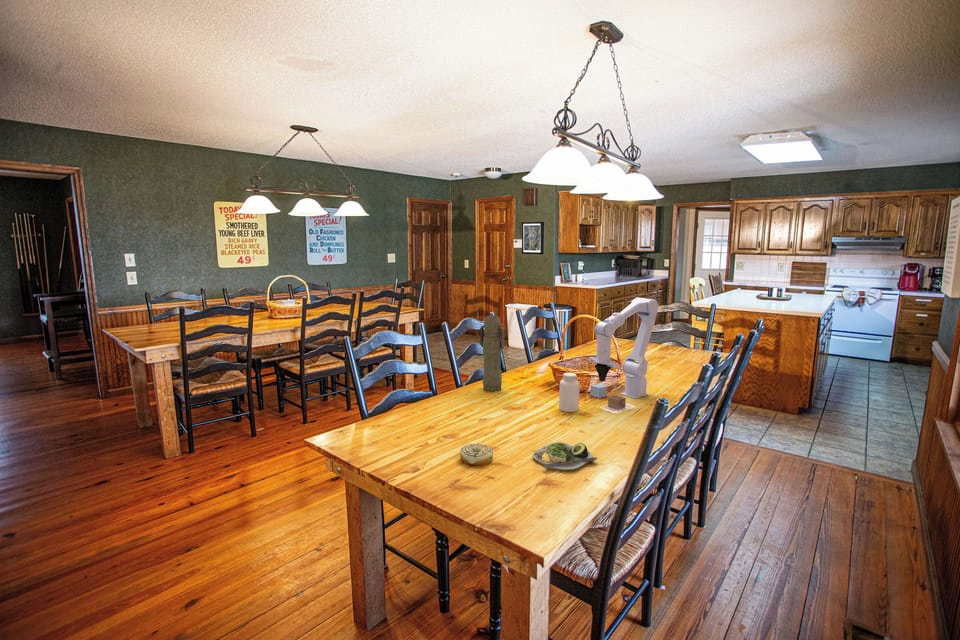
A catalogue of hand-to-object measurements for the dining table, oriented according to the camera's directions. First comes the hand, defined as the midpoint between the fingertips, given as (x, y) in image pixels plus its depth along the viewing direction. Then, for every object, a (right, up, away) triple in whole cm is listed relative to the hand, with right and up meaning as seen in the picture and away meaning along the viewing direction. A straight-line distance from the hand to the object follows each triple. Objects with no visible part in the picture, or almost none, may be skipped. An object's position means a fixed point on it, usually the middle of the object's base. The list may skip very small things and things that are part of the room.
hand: (602, 381), depth 201 cm
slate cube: (+1, -8, +9) cm, 12 cm away
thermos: (-47, -7, +20) cm, 51 cm away
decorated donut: (-54, -19, -52) cm, 77 cm away
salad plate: (-26, -19, -51) cm, 60 cm away
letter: (+5, -10, -5) cm, 12 cm away
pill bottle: (-16, -11, -7) cm, 20 cm away
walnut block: (+5, -10, -5) cm, 12 cm away
